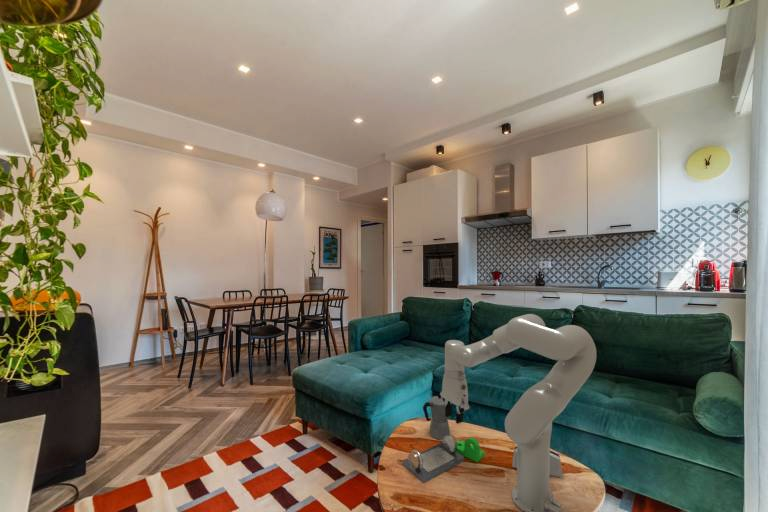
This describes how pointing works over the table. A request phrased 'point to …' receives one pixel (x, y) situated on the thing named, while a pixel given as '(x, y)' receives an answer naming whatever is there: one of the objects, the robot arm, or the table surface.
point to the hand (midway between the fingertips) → (453, 418)
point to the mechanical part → (470, 449)
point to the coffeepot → (437, 417)
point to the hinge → (554, 463)
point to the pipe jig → (434, 459)
